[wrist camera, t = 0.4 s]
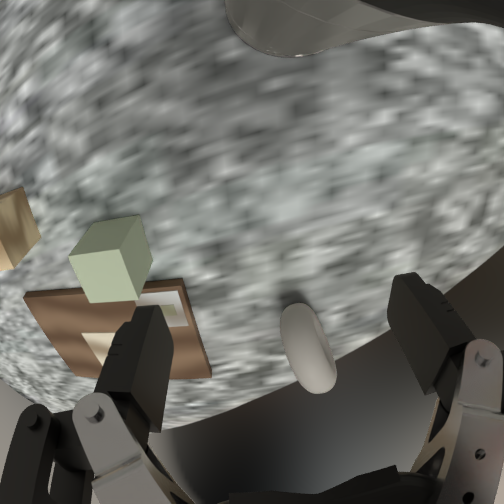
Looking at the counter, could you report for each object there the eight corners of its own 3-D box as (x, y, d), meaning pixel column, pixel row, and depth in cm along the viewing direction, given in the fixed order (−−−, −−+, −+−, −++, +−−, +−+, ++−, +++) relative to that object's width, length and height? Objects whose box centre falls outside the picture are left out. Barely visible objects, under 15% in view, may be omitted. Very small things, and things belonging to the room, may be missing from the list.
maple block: (-9, 198, 23) (-41, 223, 18) (23, 186, 23) (-11, 212, 18) (8, 244, 26) (-18, 273, 21) (41, 237, 26) (13, 268, 21)
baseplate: (26, 292, 30) (22, 298, 29) (182, 278, 30) (180, 287, 29) (78, 370, 39) (75, 377, 37) (211, 370, 38) (211, 379, 37)
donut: (268, 292, 32) (280, 369, 23) (298, 278, 31) (320, 354, 22) (302, 344, 36) (318, 412, 28) (328, 333, 36) (348, 400, 27)
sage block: (94, 222, 26) (67, 256, 21) (139, 214, 26) (119, 249, 21) (109, 265, 29) (90, 303, 24) (153, 260, 29) (138, 299, 24)
